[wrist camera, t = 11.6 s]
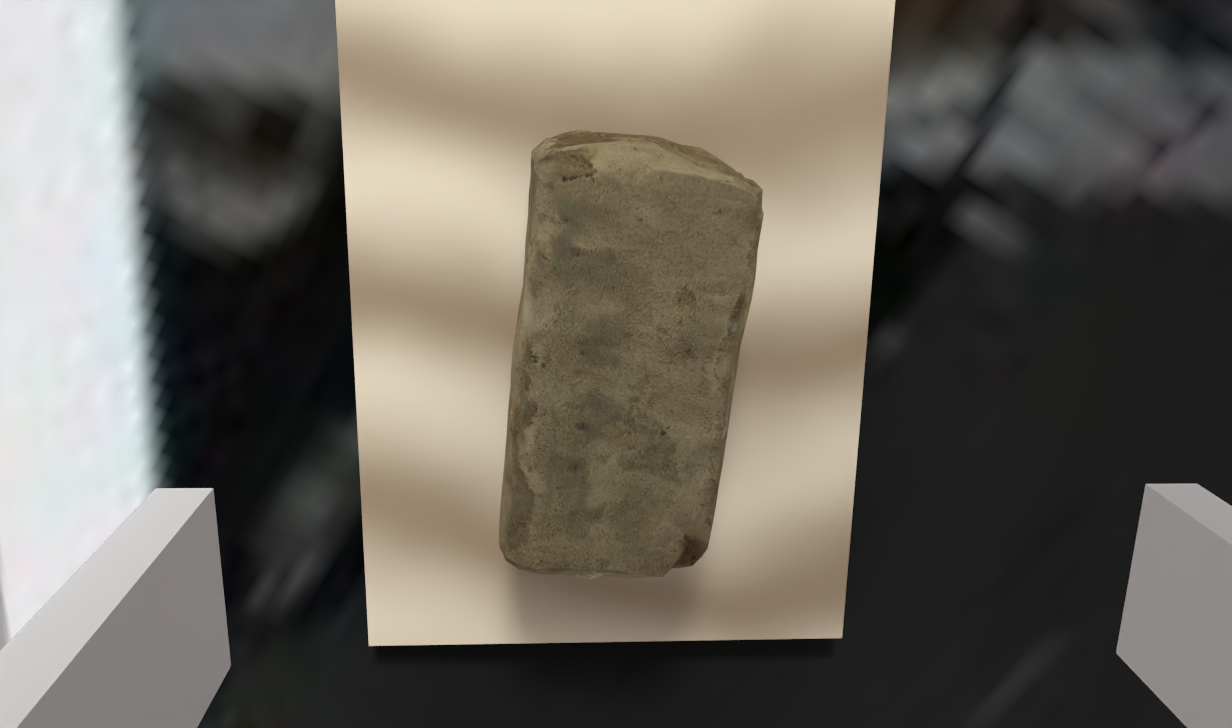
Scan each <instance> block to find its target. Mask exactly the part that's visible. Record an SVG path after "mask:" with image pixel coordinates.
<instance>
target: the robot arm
mask: <svg viewBox="0 0 1232 728" xmlns="http://www.w3.org/2000/svg"><path fill="white" fill-rule="evenodd" d="M1116 654H1117V655H1118V656H1119V657H1120V658H1121V659H1122V660H1123V661H1124V662H1125V663H1126V664H1127V665H1128V666H1129V667H1130V668H1131V669H1132V670H1133V671H1134V672H1135V673H1136V675H1137V676H1138V677H1139V678H1140V679H1141V680H1142V681H1143V682H1144V683H1145V684H1146V685H1147V686H1148V687H1149V688H1150V689H1151V690H1152V691H1153V692H1154V693H1155V694H1156V696H1157V697H1158V698H1159V699H1160V700H1161V701H1162V702H1163V703H1164V704H1165V705H1166V706H1167V707H1168V708H1169V709H1170V710H1171V711H1172V712H1173V713H1174V714H1175V715H1176V717H1177V718H1178V719H1179V720H1180V721H1181V722H1182V723H1183V724H1184V725H1185V726H1186V727H1187V728H1232V506H1231V505H1229V504H1228V503H1226V502H1225V501H1223V500H1221V499H1220V498H1218V497H1217V496H1215V495H1214V494H1212V493H1211V492H1209V491H1208V490H1206V489H1205V488H1203V487H1201V486H1200V485H1198V484H1145V490H1144V496H1143V501H1142V507H1141V513H1140V518H1139V524H1138V530H1137V536H1136V541H1135V547H1134V553H1133V558H1132V564H1131V570H1130V576H1129V581H1128V587H1127V593H1126V599H1125V604H1124V610H1123V616H1122V621H1121V627H1120V633H1119V639H1118V644H1117V650H1116ZM230 666H231V661H230V651H229V641H228V631H227V621H226V611H225V601H224V591H223V581H222V571H221V561H220V551H219V541H218V530H217V520H216V510H215V500H214V490H213V488H156V489H155V490H154V491H153V492H152V493H151V494H150V495H149V496H148V497H147V498H146V499H145V500H144V501H143V502H142V503H141V505H140V506H139V507H138V508H137V509H136V510H135V511H134V512H133V513H132V514H131V515H130V516H129V517H128V518H127V519H126V520H125V521H124V522H123V523H122V524H121V525H120V526H119V527H118V529H117V530H116V531H115V532H114V533H113V534H112V535H111V536H110V537H109V538H108V539H107V540H106V541H105V542H104V543H103V544H102V545H101V546H100V547H99V548H98V549H97V550H96V552H95V553H94V554H93V555H92V556H91V557H90V558H89V559H88V560H87V561H86V562H85V563H84V564H83V565H82V566H81V567H80V568H79V569H78V570H77V571H76V572H75V573H74V574H73V576H72V577H71V578H70V579H69V580H68V581H67V582H66V583H65V584H64V585H63V586H62V587H61V588H60V589H59V590H58V591H57V592H56V593H55V594H54V595H53V596H52V597H51V599H50V600H49V601H48V602H47V603H46V604H45V605H44V606H43V607H42V608H41V609H40V610H39V611H38V612H37V613H36V614H35V615H34V616H33V617H32V618H31V619H30V620H29V622H28V623H27V624H26V625H25V626H24V627H23V628H22V629H21V630H20V631H19V632H18V633H17V634H16V635H15V636H14V637H13V638H12V639H11V640H10V641H9V642H8V643H7V644H6V646H5V647H4V648H3V649H2V650H1V651H0V728H197V727H198V725H199V723H200V721H201V719H202V718H203V716H204V714H205V712H206V710H207V708H208V707H209V705H210V703H211V701H212V699H213V697H214V696H215V694H216V692H217V690H218V688H219V687H220V685H221V683H222V681H223V679H224V677H225V676H226V674H227V672H228V670H229V668H230Z"/></svg>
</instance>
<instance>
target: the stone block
mask: <svg viewBox="0 0 1232 728" xmlns="http://www.w3.org/2000/svg"><path fill="white" fill-rule="evenodd" d="M762 194H763V189H762V188H761V187H760V186H759V185H758V184H757V183H756V182H755V181H753V180H751V179H748V178H744V176H743V174H742V173H739V172H736V170H735V169H733V168H732V167H730V166H729V165H727V164H726V163H725V162H723V161H722V160H720V159H719V158H717V157H716V156H714V155H713V154H711V153H710V152H708V151H706V150H705V149H703V148H701V147H695V146H688V145H681V144H678V143H675V142H672V141H670V140H667V139H664V138H660V137H657V136H647V135H633V134H617V133H607V132H590V131H583V130H575V131H571V132H566V133H562V134H559V135H557V136H554V137H552V138H546V139H545V140H543V141H542V142H541V143H540V144H539V145H538V146H537V147H535V148H534V149H533V150H532V151H531V175H530V187H529V203H528V221H527V231H526V241H525V261H524V277H523V287H522V293H521V298H520V304H519V310H518V318H517V325H516V333H515V339H514V346H513V353H512V366H511V386H510V395H509V406H508V420H507V437H506V447H505V461H504V472H503V483H502V495H501V507H500V521H499V547H500V549H501V551H502V553H503V555H504V558H505V560H506V561H507V562H508V563H510V564H512V565H513V566H515V567H516V568H518V569H519V570H523V571H527V572H531V573H536V574H545V575H561V574H564V575H569V576H574V577H580V578H586V579H593V578H599V577H614V576H616V577H623V578H643V577H663V576H664V575H665V574H666V573H667V572H668V571H669V570H671V569H672V568H683V567H689V566H693V565H694V564H695V563H696V562H697V561H698V560H699V559H700V558H701V557H702V556H703V555H704V553H705V552H706V550H707V549H708V544H709V540H710V535H711V530H712V525H713V519H714V514H715V508H716V502H717V495H718V488H719V482H720V477H721V471H722V466H723V459H724V453H725V446H726V439H727V432H728V426H729V419H730V412H731V405H732V397H733V391H734V385H735V380H736V374H737V367H738V360H739V353H740V346H741V342H742V338H743V334H744V330H745V326H746V321H747V317H748V313H749V309H750V305H751V300H752V295H753V289H754V283H755V277H756V265H757V251H758V245H759V239H760V233H761V227H762V221H763V216H764V213H763V210H762Z"/></svg>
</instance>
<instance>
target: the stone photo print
mask: <svg viewBox="0 0 1232 728" xmlns="http://www.w3.org/2000/svg"><path fill="white" fill-rule="evenodd" d="M335 5H336V25H337V44H338V63H339V82H340V101H341V121H342V140H343V159H344V178H345V197H346V217H347V236H348V255H349V274H350V293H351V313H352V332H353V351H354V370H355V389H356V408H357V428H358V447H359V466H360V485H361V504H362V524H363V543H364V562H365V581H366V600H367V620H368V639H369V646H396V645H457V644H517V643H578V642H639V641H699V640H760V639H821V638H842V632H843V620H844V608H845V596H846V584H847V572H848V560H849V548H850V536H851V524H852V513H853V501H854V489H855V477H856V465H857V453H858V441H859V429H860V417H861V405H862V393H863V381H864V369H865V357H866V345H867V333H868V321H869V309H870V297H871V285H872V273H873V261H874V249H875V237H876V225H877V213H878V201H879V189H880V177H881V165H882V153H883V141H884V129H885V117H886V105H887V93H888V81H889V69H890V57H891V45H892V33H893V21H894V10H895V0H335ZM575 130H583V131H590V132H607V133H617V134H633V135H647V136H657V137H660V138H664V139H667V140H670V141H672V142H675V143H678V144H681V145H688V146H695V147H701V148H703V149H705V150H706V151H708V152H710V153H711V154H713V155H714V156H716V157H717V158H719V159H720V160H722V161H723V162H725V163H726V164H727V165H729V166H730V167H732V168H733V169H735V170H736V172H739V173H742V174H743V176H744V178H748V179H751V180H753V181H755V182H756V183H757V184H758V185H759V186H760V187H761V188H762V189H763V194H762V210H763V213H764V216H763V221H762V227H761V233H760V239H759V245H758V251H757V265H756V277H755V283H754V289H753V295H752V300H751V305H750V309H749V313H748V317H747V321H746V326H745V330H744V334H743V338H742V342H741V346H740V353H739V360H738V367H737V374H736V380H735V385H734V391H733V397H732V405H731V412H730V419H729V426H728V432H727V439H726V446H725V453H724V459H723V466H722V471H721V477H720V482H719V488H718V495H717V502H716V508H715V514H714V519H713V525H712V530H711V535H710V540H709V544H708V549H707V550H706V552H705V553H704V555H703V556H702V557H701V558H700V559H699V560H698V561H697V562H696V563H695V564H694V565H693V566H689V567H683V568H672V569H671V570H669V571H668V572H667V573H666V574H665V575H664V576H663V577H643V578H623V577H616V576H614V577H599V578H593V579H586V578H580V577H574V576H569V575H564V574H561V575H545V574H536V573H531V572H527V571H523V570H519V569H518V568H516V567H515V566H513V565H512V564H510V563H508V562H507V561H506V560H505V558H504V555H503V553H502V551H501V549H500V547H499V521H500V507H501V495H502V483H503V472H504V461H505V447H506V437H507V420H508V406H509V395H510V386H511V366H512V353H513V346H514V339H515V333H516V325H517V318H518V310H519V304H520V298H521V293H522V287H523V277H524V261H525V241H526V231H527V221H528V203H529V187H530V175H531V151H532V150H533V149H534V148H535V147H537V146H538V145H539V144H540V143H541V142H542V141H543V140H545V139H546V138H552V137H554V136H557V135H559V134H562V133H566V132H571V131H575Z"/></svg>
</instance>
